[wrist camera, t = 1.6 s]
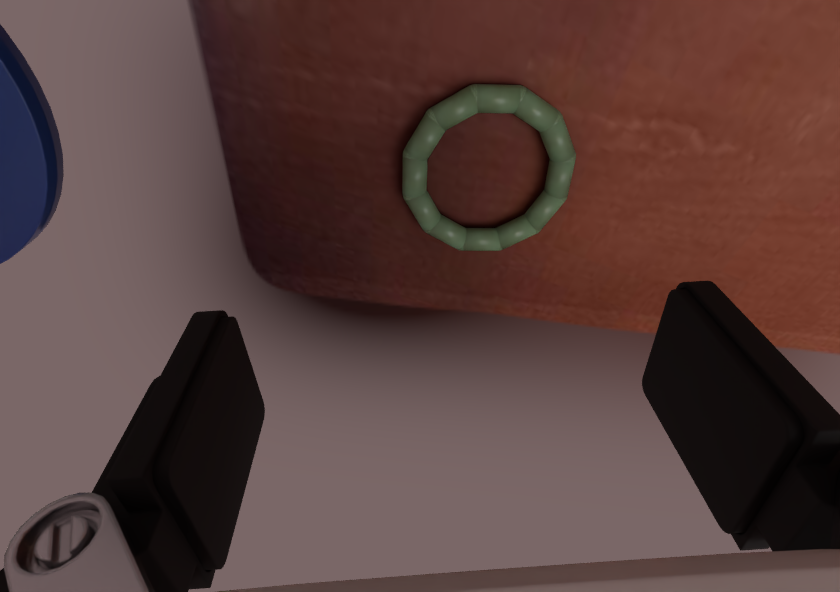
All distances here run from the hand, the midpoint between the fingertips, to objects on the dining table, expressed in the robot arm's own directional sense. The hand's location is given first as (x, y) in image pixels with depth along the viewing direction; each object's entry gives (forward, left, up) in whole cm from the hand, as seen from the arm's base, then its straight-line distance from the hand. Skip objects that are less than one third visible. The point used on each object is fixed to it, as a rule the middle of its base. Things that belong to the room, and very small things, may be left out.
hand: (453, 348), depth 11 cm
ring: (+3, -2, -15) cm, 15 cm away
